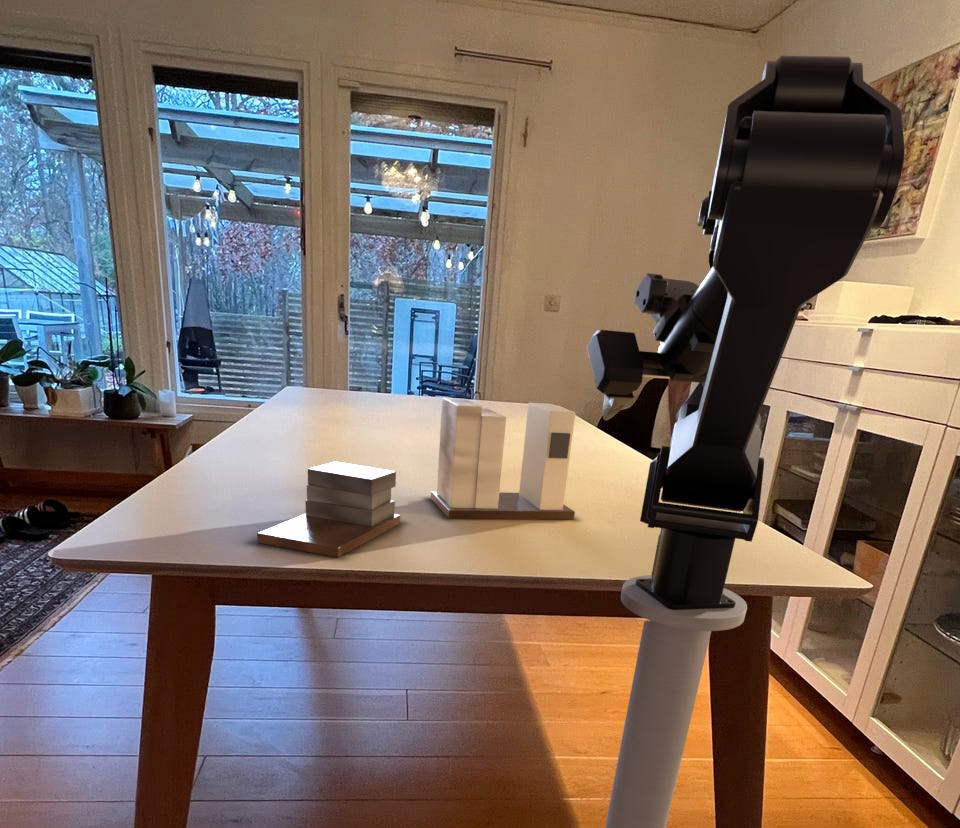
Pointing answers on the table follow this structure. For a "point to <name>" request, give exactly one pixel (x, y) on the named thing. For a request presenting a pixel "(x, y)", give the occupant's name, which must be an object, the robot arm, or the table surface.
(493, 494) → the brown and white bookend
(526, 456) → the white book
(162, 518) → the table surface
